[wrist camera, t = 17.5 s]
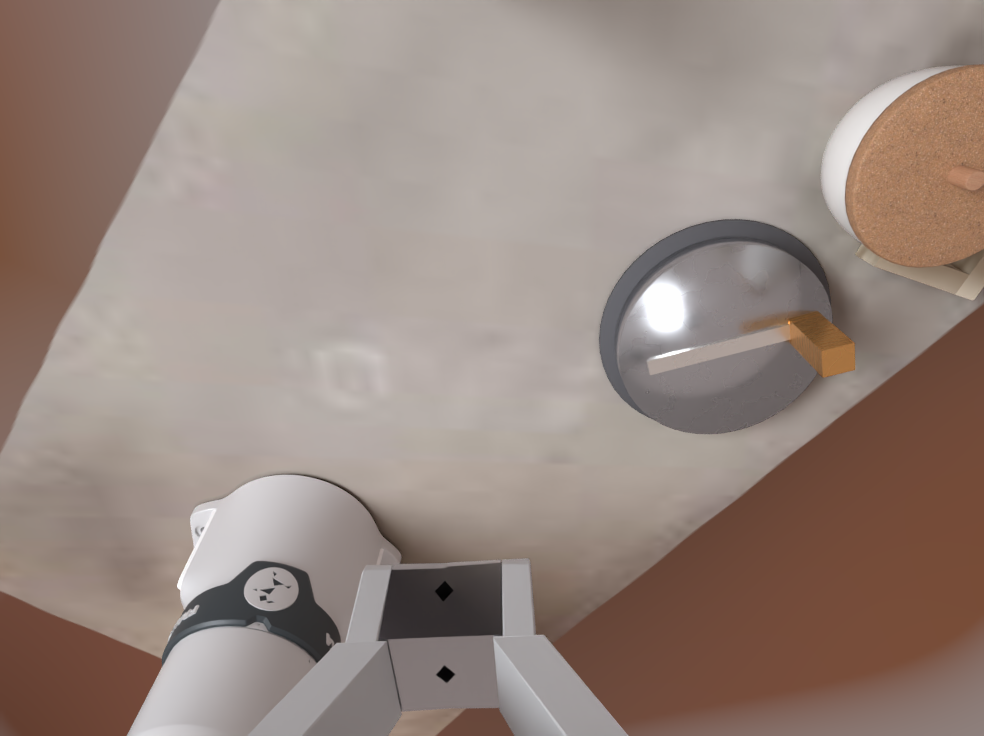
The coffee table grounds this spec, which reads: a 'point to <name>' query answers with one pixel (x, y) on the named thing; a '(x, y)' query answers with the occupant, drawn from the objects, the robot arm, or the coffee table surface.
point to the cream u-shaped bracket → (938, 273)
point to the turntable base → (669, 247)
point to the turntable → (726, 336)
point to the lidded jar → (912, 167)
